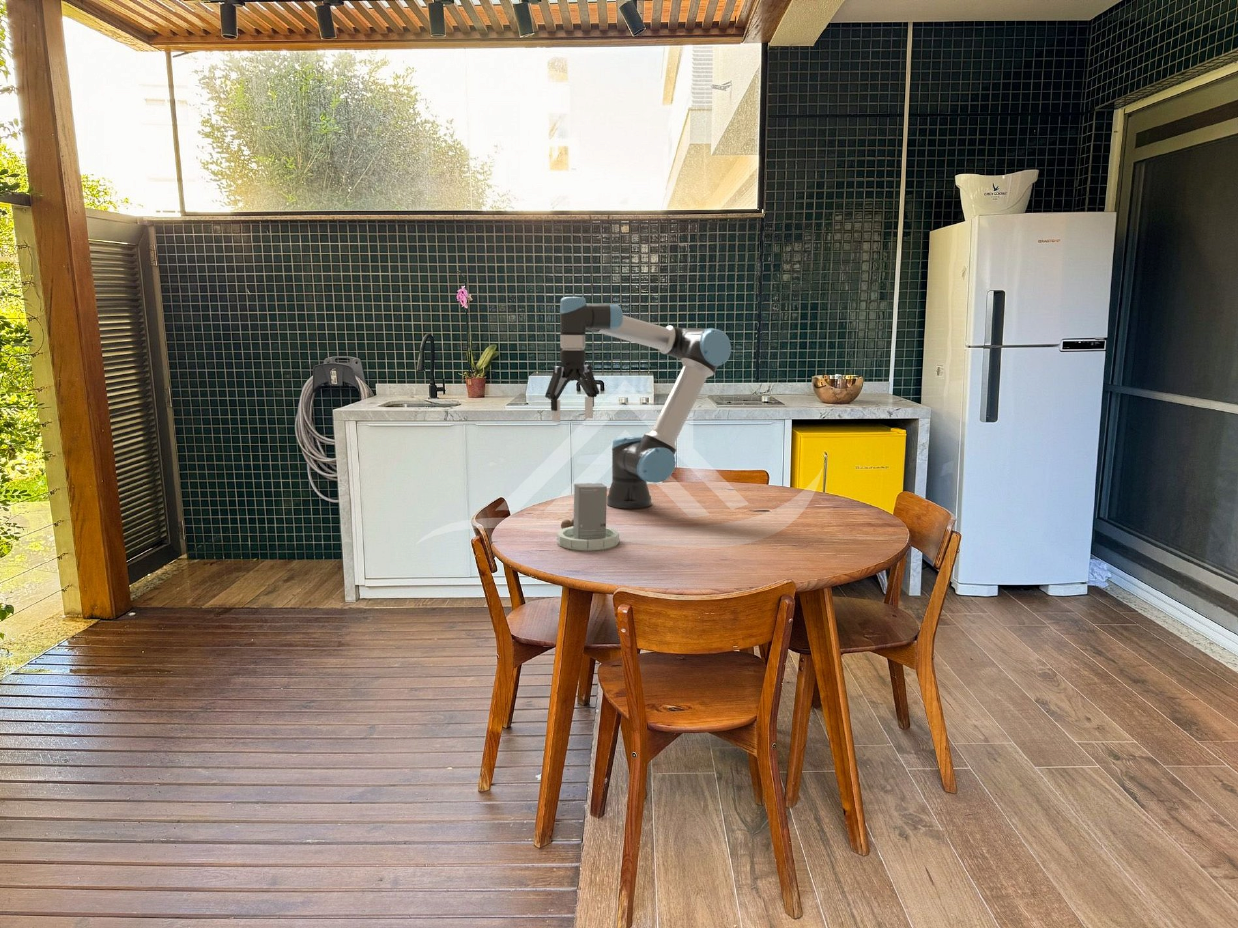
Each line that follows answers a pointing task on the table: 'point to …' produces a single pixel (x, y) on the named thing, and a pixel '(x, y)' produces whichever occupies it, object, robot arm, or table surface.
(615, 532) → the tray
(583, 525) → the skincare box
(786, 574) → the table surface
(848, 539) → the table surface
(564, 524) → the bead
